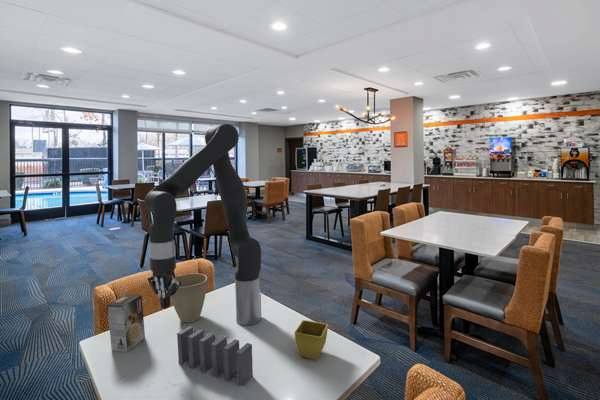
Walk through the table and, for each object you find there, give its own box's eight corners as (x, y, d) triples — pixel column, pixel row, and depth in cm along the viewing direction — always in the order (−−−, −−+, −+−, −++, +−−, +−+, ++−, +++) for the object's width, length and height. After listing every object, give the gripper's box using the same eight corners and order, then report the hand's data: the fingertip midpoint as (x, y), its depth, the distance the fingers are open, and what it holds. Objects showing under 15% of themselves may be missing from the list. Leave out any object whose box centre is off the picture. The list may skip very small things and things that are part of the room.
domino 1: (190, 355, 107) (189, 325, 106) (194, 356, 107) (193, 327, 106) (178, 363, 103) (177, 333, 102) (182, 365, 102) (180, 334, 101)
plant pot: (193, 306, 143) (191, 270, 141) (216, 316, 134) (215, 277, 132) (161, 320, 131) (159, 281, 129) (184, 331, 122) (182, 290, 120)
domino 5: (235, 370, 99) (234, 339, 98) (240, 372, 99) (239, 340, 97) (224, 380, 95) (223, 347, 94) (229, 382, 94) (228, 349, 93)
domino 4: (223, 366, 101) (222, 335, 100) (228, 368, 101) (226, 336, 99) (212, 376, 97) (211, 343, 96) (216, 377, 96) (215, 345, 95)
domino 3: (212, 362, 103) (211, 332, 102) (216, 364, 103) (215, 333, 101) (200, 371, 99) (199, 340, 98) (205, 373, 98) (203, 341, 97)
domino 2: (201, 358, 105) (200, 329, 104) (205, 360, 105) (204, 330, 103) (189, 367, 101) (188, 336, 100) (193, 369, 100) (192, 337, 99)
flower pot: (328, 349, 110) (328, 323, 109) (321, 365, 102) (321, 337, 101) (303, 345, 113) (302, 319, 112) (294, 359, 105) (293, 332, 103)
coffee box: (129, 336, 120) (126, 293, 118) (145, 337, 118) (142, 294, 116) (110, 350, 111) (106, 304, 109) (127, 352, 109) (123, 305, 107)
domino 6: (248, 375, 97) (247, 342, 96) (252, 376, 97) (251, 344, 95) (237, 385, 93) (236, 351, 92) (242, 387, 92) (241, 353, 91)
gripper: (187, 254, 105) (189, 307, 107) (158, 249, 111) (160, 299, 113) (168, 260, 98) (170, 316, 100) (138, 255, 104) (141, 308, 106)
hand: (165, 307), depth 107 cm, fingers closed
